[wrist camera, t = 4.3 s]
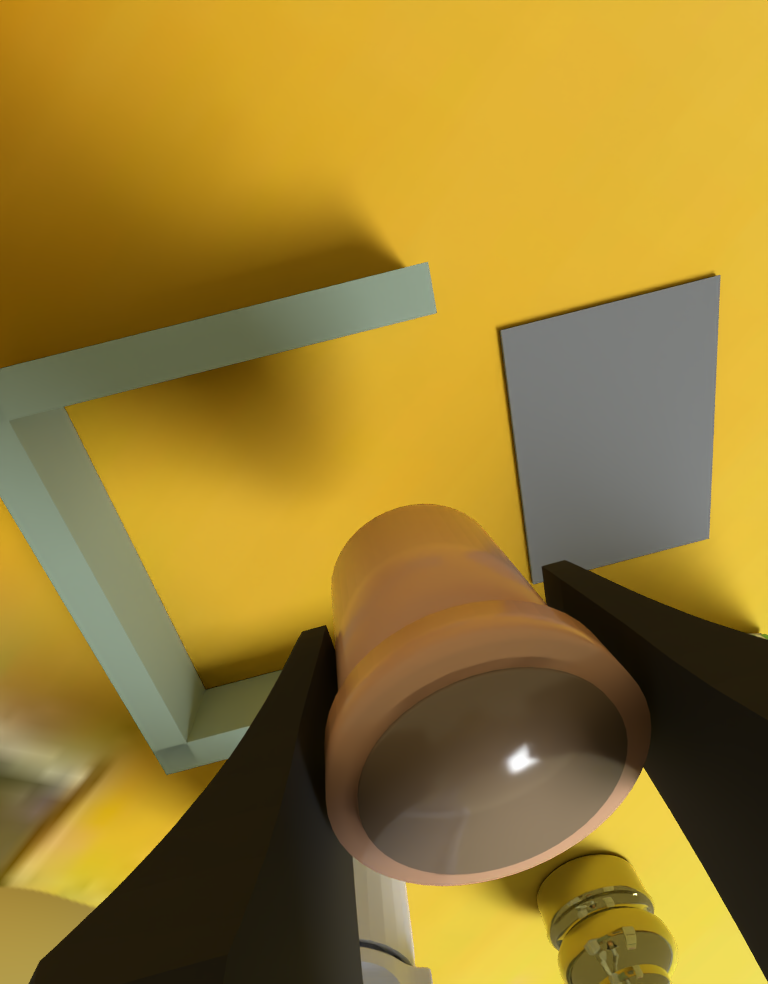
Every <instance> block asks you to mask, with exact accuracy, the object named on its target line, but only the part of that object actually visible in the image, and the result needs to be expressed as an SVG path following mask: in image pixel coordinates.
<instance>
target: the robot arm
mask: <svg viewBox="0 0 768 984" xmlns="http://www.w3.org/2000/svg"><path fill="white" fill-rule="evenodd" d="M542 574H543V582H544V589H545V597H546V604H547V605H548V607H551V608H554V609H556V610H559V611H561V612H563V613H566V614H567V615H569V616H571V617H572V618H574V619H576V620H577V621H579V622H580V623H582V624H583V625H584V626H585V627H586V628H587V629H589V630H590V631H591V632H592V633H593V634H594V635H595V636H596V637H597V639H598V640H599V641H600V642H601V643H602V644H603V645H604V646H605V647H606V648H607V650H608V651H609V652H610V653H611V654H612V655H613V656H614V657H615V658H616V659H617V661H618V662H619V663H620V664H621V665H622V666H623V667H624V668H625V669H626V671H627V672H628V673H629V674H630V675H631V676H632V678H633V679H634V680H635V681H636V683H637V684H638V685H639V687H640V689H641V691H642V693H643V694H644V696H645V698H646V701H647V705H648V708H649V712H650V719H651V739H650V746H649V750H648V754H647V758H646V761H645V763H644V766H643V767H644V769H645V770H646V772H647V774H648V775H649V777H650V778H651V780H652V782H653V783H654V785H655V787H656V788H657V790H658V791H659V793H660V795H661V796H662V798H663V800H664V801H665V803H666V804H667V806H668V808H669V809H670V811H671V813H672V814H673V816H674V818H675V819H676V821H677V823H678V824H679V826H680V828H681V829H682V831H683V833H684V835H685V836H686V838H687V840H688V841H689V843H690V845H691V846H692V848H693V850H694V851H695V853H696V855H697V857H698V858H699V860H700V862H701V863H702V865H703V867H704V868H705V870H706V872H707V874H708V875H709V877H710V879H711V881H712V882H713V884H714V886H715V888H716V890H717V891H718V893H719V895H720V897H721V898H722V900H723V902H724V904H725V905H726V907H727V909H728V911H729V912H730V914H731V916H732V918H733V919H734V921H735V923H736V925H737V927H738V928H739V930H740V932H741V934H742V935H743V937H744V939H745V941H746V943H747V945H748V946H749V948H750V950H751V952H752V954H753V956H754V957H755V959H756V961H757V963H758V965H759V967H760V968H761V970H762V972H763V974H764V976H765V978H766V979H767V981H768V640H767V639H764V638H760V637H757V636H753V635H750V634H747V633H744V632H741V631H737V630H734V629H731V628H728V627H725V626H722V625H719V624H716V623H712V622H709V621H707V620H704V619H701V618H698V617H695V616H693V615H690V614H687V613H685V612H682V611H680V610H677V609H675V608H672V607H669V606H667V605H664V604H662V603H659V602H657V601H655V600H652V599H650V598H647V597H645V596H643V595H640V594H638V593H636V592H634V591H631V590H629V589H627V588H625V587H623V586H620V585H618V584H616V583H614V582H612V581H610V580H607V579H605V578H603V577H601V576H599V575H597V574H595V573H593V572H591V571H588V570H586V569H584V568H582V567H580V566H578V565H576V564H573V563H571V562H569V561H566V560H563V561H559V562H555V563H552V564H548V565H544V566H542ZM337 693H338V685H337V669H336V654H335V648H334V646H333V643H332V640H331V637H330V635H329V632H328V629H327V627H326V625H325V626H321V627H318V628H314V629H310V630H307V631H303V632H302V633H301V635H300V637H299V639H298V640H297V642H296V644H295V646H294V648H293V650H292V652H291V654H290V656H289V658H288V660H287V662H286V664H285V666H284V668H283V669H282V671H281V673H280V675H279V677H278V679H277V681H276V682H275V684H274V686H273V688H272V690H271V691H270V693H269V695H268V697H267V699H266V700H265V702H264V704H263V706H262V707H261V709H260V710H259V712H258V714H257V715H256V717H255V718H254V720H253V722H252V723H251V725H250V727H249V728H248V730H247V731H246V733H245V735H244V736H243V738H242V739H241V741H240V742H239V744H238V745H237V747H236V748H235V750H234V751H233V753H232V754H231V755H230V757H229V758H228V760H227V761H226V762H225V764H224V765H223V766H222V768H221V769H220V770H219V772H218V773H217V774H216V776H215V777H214V778H213V780H212V781H211V782H210V784H209V785H208V786H207V787H206V789H205V790H204V791H203V792H202V793H201V795H200V796H199V797H198V798H197V799H196V801H195V802H194V803H193V804H192V805H191V807H190V808H189V809H188V810H187V811H186V813H185V814H184V815H183V816H182V817H181V819H180V820H179V821H178V822H177V823H176V825H175V826H174V827H173V828H172V829H171V830H170V832H169V833H168V834H167V835H166V836H165V837H164V838H163V839H162V841H161V842H160V843H159V844H158V845H157V846H156V847H155V848H154V849H153V850H152V851H151V853H150V854H149V855H148V856H147V857H146V858H145V859H144V860H143V861H142V862H141V863H140V864H139V865H138V866H137V867H136V868H135V869H134V871H133V872H132V873H131V874H130V875H129V876H128V877H127V878H126V879H125V880H124V881H123V882H122V883H121V884H120V885H119V886H118V887H117V888H116V889H115V890H114V891H113V892H112V893H111V894H110V895H109V896H108V897H107V898H106V899H105V900H104V901H103V902H102V903H101V904H100V905H99V906H98V907H97V908H96V909H95V910H94V911H93V912H92V913H90V914H89V915H88V916H87V917H86V918H85V919H84V920H83V921H82V922H81V923H80V924H79V925H78V926H77V927H76V928H75V929H74V930H73V931H72V932H71V933H69V934H68V935H67V937H65V938H64V939H63V940H62V941H61V942H60V943H59V944H58V945H57V946H56V947H55V948H54V949H53V950H52V951H50V952H49V953H48V954H47V955H46V956H45V957H44V958H43V959H42V960H41V961H40V962H39V964H38V966H37V968H36V970H35V972H34V974H33V976H32V978H31V980H30V982H29V984H433V982H432V976H431V970H430V969H429V968H424V967H415V961H414V945H413V937H412V929H411V921H410V913H409V905H408V898H407V890H406V882H404V881H400V880H397V879H393V878H390V877H387V876H385V875H382V874H380V873H377V872H375V871H373V870H372V869H370V868H368V867H367V866H365V865H363V864H362V863H360V862H359V861H358V860H357V859H355V858H354V857H353V856H352V855H351V854H349V852H348V851H347V850H346V849H345V848H344V847H343V845H342V844H341V843H340V842H339V840H338V838H337V836H336V835H335V833H334V831H333V829H332V826H331V823H330V821H329V818H328V814H327V806H326V791H325V750H324V742H325V727H326V723H327V719H328V714H329V711H330V709H331V706H332V704H333V701H334V699H335V696H336V694H337Z"/></svg>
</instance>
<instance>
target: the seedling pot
mask: <svg viewBox="0 0 768 984" xmlns="http://www.w3.org/2000/svg"><path fill="white" fill-rule="evenodd" d="M331 592H332V607H333V623H334V638H335V654H336V669H337V685H338V693H337V694H336V696H335V699H334V701H333V704H332V706H331V709H330V711H329V714H328V719H327V723H326V727H325V742H324V750H325V791H326V806H327V814H328V818H329V821H330V823H331V826H332V829H333V831H334V833H335V835H336V836H337V838H338V840H339V842H340V843H341V844H342V845H343V847H344V848H345V849H346V850H347V851H348V852H349V854H351V855H352V856H353V857H354V858H355V859H357V860H358V861H359V862H360V863H362V864H363V865H365V866H367V867H368V868H370V869H372V870H373V871H375V872H377V873H380V874H382V875H385V876H387V877H390V878H393V879H397V880H400V881H404V882H408V883H415V884H421V885H434V886H454V885H466V884H474V883H481V882H486V881H490V880H495V879H499V878H503V877H506V876H510V875H513V874H516V873H519V872H522V871H524V870H527V869H530V868H532V867H535V866H537V865H539V864H541V863H543V862H545V861H548V860H550V859H552V858H553V857H555V856H557V855H559V854H561V853H562V852H564V851H566V850H568V849H569V848H571V847H572V846H574V845H575V844H577V843H578V842H580V841H581V840H583V839H584V838H585V837H586V836H588V835H589V834H590V833H592V832H593V831H594V830H595V829H597V828H598V827H599V826H600V825H601V824H602V823H603V822H604V821H605V820H606V819H607V818H608V817H609V816H610V815H611V814H612V813H613V812H614V811H615V810H616V809H617V808H618V806H619V805H620V804H621V803H622V802H623V800H624V799H625V798H626V796H627V795H628V793H629V792H630V791H631V789H632V788H633V786H634V784H635V782H636V780H637V779H638V777H639V775H640V773H641V771H642V768H643V766H644V763H645V761H646V758H647V754H648V750H649V746H650V739H651V719H650V712H649V708H648V705H647V701H646V698H645V696H644V694H643V693H642V691H641V689H640V687H639V685H638V684H637V683H636V681H635V680H634V679H633V678H632V676H631V675H630V674H629V673H628V672H627V671H626V669H625V668H624V667H623V666H622V665H621V664H620V663H619V662H618V661H617V659H616V658H615V657H614V656H613V655H612V654H611V653H610V652H609V651H608V650H607V648H606V647H605V646H604V645H603V644H602V643H601V642H600V641H599V640H598V639H597V637H596V636H595V635H594V634H593V633H592V632H591V631H590V630H589V629H587V628H586V627H585V626H584V625H583V624H582V623H580V622H579V621H577V620H576V619H574V618H572V617H571V616H569V615H567V614H566V613H563V612H561V611H559V610H556V609H554V608H551V607H548V605H547V604H546V603H545V602H544V601H543V599H542V598H541V597H540V596H539V595H538V593H537V592H536V591H535V590H534V589H533V587H532V586H531V585H530V584H529V583H528V581H527V580H526V579H525V578H524V577H523V575H522V574H521V573H520V572H519V571H518V569H517V568H516V567H515V566H514V565H513V563H512V562H511V561H510V560H509V559H508V557H507V556H506V555H505V554H504V553H503V551H502V550H501V549H500V548H499V547H498V546H497V544H496V543H495V542H494V541H493V540H492V538H491V537H490V536H489V535H488V534H487V532H486V531H485V530H484V529H483V528H482V526H481V525H479V524H478V523H477V522H476V521H475V520H474V519H472V518H471V517H469V516H468V515H466V514H464V513H462V512H460V511H458V510H456V509H452V508H449V507H446V506H440V505H434V504H417V505H409V506H404V507H400V508H396V509H393V510H391V511H388V512H385V513H383V514H381V515H379V516H377V517H375V518H374V519H372V520H371V521H369V522H368V523H366V524H365V525H364V526H363V527H361V528H360V529H359V530H358V531H357V532H356V533H355V534H354V535H353V536H352V537H351V538H350V539H349V541H348V542H347V543H346V545H345V546H344V548H343V549H342V551H341V553H340V555H339V557H338V559H337V561H336V564H335V567H334V570H333V575H332V585H331Z"/></svg>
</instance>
